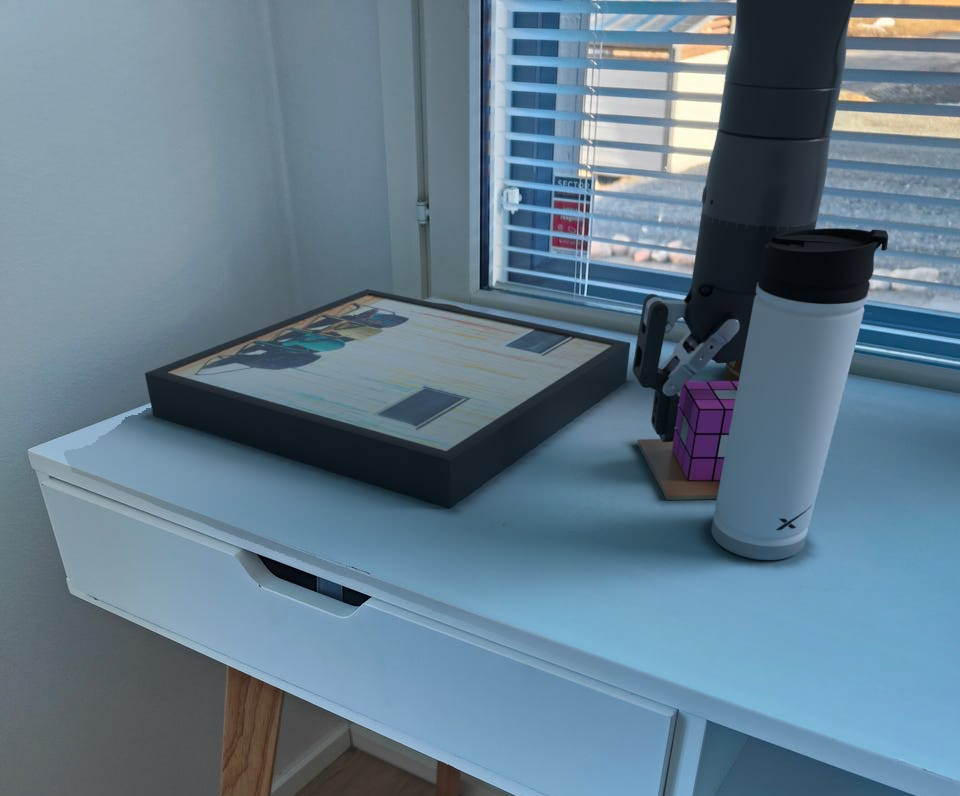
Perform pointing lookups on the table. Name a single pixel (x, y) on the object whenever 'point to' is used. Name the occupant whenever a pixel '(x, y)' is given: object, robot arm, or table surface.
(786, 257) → the travel mug
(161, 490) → the table surface
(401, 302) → the framed picture
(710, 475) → the puzzle toy
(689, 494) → the cork coaster
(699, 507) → the table surface
